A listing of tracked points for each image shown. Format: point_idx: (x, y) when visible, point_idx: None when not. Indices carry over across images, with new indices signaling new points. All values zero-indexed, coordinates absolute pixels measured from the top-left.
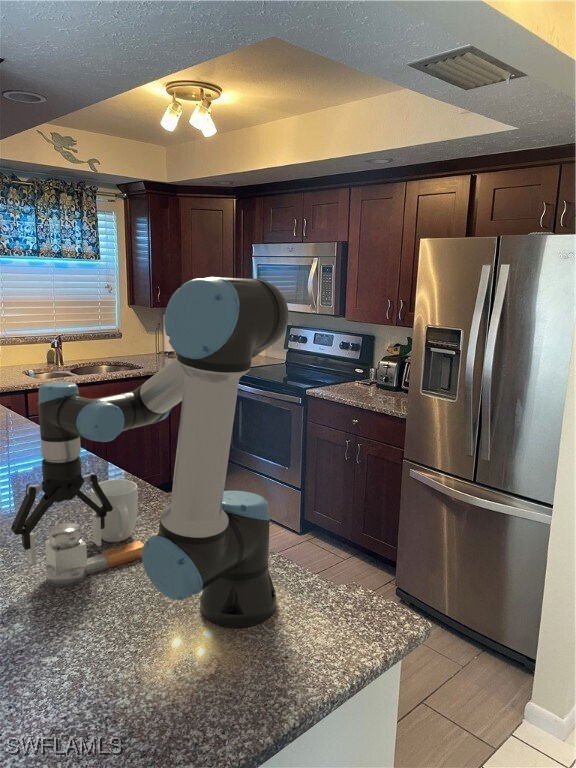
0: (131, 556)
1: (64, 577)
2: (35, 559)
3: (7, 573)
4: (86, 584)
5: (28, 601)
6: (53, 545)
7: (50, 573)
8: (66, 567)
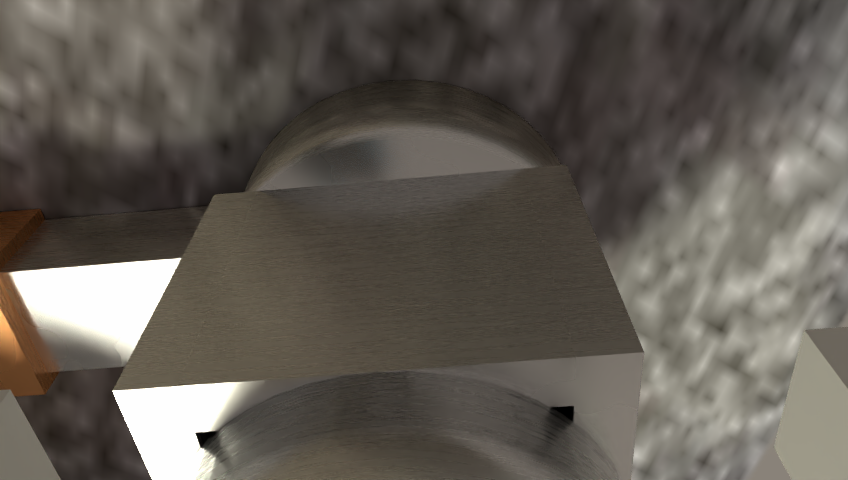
0: None
1: (480, 130)
2: (844, 375)
3: (748, 468)
4: (275, 31)
5: (834, 15)
6: None
7: None
8: (451, 202)
